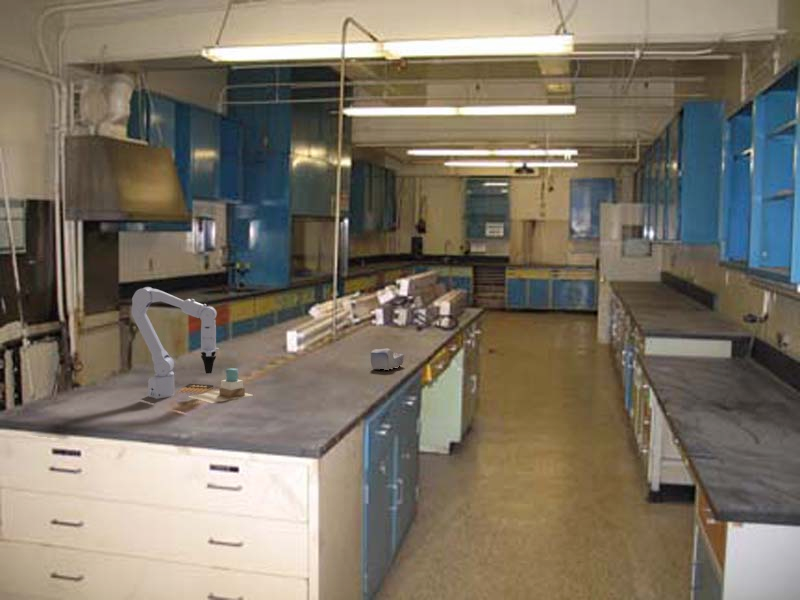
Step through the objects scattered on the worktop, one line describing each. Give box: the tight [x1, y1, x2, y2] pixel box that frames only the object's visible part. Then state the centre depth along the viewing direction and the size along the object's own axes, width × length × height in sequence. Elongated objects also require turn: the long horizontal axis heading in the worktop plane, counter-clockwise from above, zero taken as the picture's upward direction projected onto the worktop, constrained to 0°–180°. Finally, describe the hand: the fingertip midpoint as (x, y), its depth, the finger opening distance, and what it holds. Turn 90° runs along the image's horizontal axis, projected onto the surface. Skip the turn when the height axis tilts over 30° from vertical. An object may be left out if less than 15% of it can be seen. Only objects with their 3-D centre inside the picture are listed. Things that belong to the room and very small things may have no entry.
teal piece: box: [225, 367, 239, 382], centre depth 301 cm, size 4×4×4 cm
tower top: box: [220, 379, 244, 390], centre depth 301 cm, size 6×6×3 cm
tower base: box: [218, 387, 246, 398], centre depth 302 cm, size 7×7×3 cm
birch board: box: [188, 390, 253, 404], centre depth 301 cm, size 20×16×1 cm
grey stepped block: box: [370, 347, 405, 371], centre depth 371 cm, size 13×11×20 cm
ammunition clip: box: [177, 383, 214, 395], centre depth 310 cm, size 11×2×12 cm
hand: (208, 371), depth 300 cm, fingers open, 7 cm apart
